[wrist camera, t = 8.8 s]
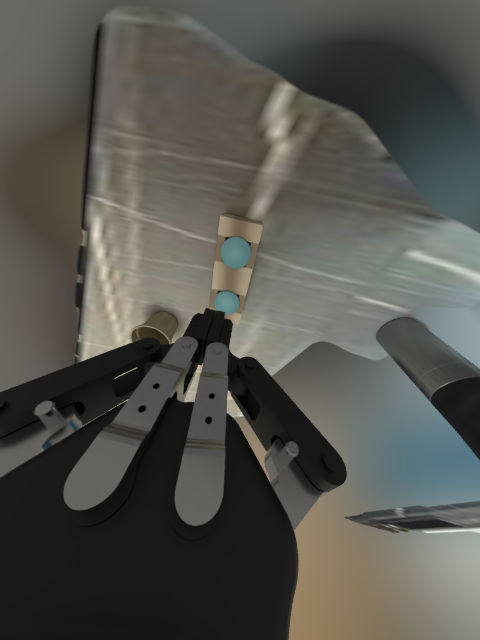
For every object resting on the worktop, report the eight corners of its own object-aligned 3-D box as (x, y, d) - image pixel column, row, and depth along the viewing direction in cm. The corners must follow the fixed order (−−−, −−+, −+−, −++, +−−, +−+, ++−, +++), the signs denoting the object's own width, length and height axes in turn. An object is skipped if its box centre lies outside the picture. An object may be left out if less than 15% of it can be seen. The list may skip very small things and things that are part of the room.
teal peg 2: (243, 282, 40) (241, 295, 35) (238, 302, 43) (236, 316, 38) (220, 277, 40) (215, 289, 34) (217, 297, 43) (212, 311, 37)
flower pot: (164, 338, 52) (150, 361, 45) (140, 314, 47) (120, 334, 40) (190, 327, 49) (179, 349, 42) (167, 300, 44) (151, 319, 37)
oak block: (261, 221, 33) (263, 225, 28) (240, 310, 45) (238, 324, 40) (225, 213, 33) (220, 215, 28) (213, 304, 44) (207, 318, 39)
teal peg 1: (254, 234, 35) (254, 241, 29) (248, 261, 37) (247, 271, 32) (227, 228, 34) (222, 233, 29) (223, 255, 37) (218, 265, 32)
